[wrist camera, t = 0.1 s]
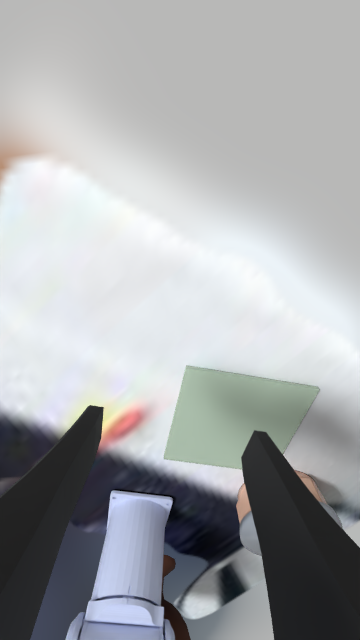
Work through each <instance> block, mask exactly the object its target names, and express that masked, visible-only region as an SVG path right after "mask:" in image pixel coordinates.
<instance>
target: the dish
mask: <svg viewBox="0 0 360 640" xmlns="http://www.w3.org/2000/svg"><path fill="white" fill-rule="evenodd" d="M294 471H295V470H294ZM295 472H296V473H297V475H298V476H299V477H300V479H301V480H302V481H303V483H304V484H305V485H306V487H307V488H308V489H309V490H310V492H311V493H312V494H313V495H314V497H315V498H316V499H317V500H318V501H320V502H322V503H325V504H327V503H326V501H325V499H324V497H323V495H322V494H321V492H320V491H319V489H318V487H317V485H316V483H315V482H314V480H313V479H312V478H311V477H310V476H308V475H306V474H304V473H302V472H299V471H295ZM236 506H237V511H238V517H239V522H241V520H242V519H243V517H244V516H245V515H246V514H248V513H249V512H250V511H251V508H250V504H249V500H248V496H247V491H246V487H245V483H244V484H243V485H242V486H241V488H240V489H239V492H238V503H237V505H236Z"/></svg>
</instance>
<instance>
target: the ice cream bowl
mask: <svg viewBox="0 0 360 640" xmlns="http://www.w3.org/2000/svg"><path fill="white" fill-rule="evenodd" d="M175 564H176V563H175V560H174V559H173V558H171V557H170V556H168V555H163V572H162V591H161V607H164V619H167V620H169V622H170V625H171V627H172V629H173V631H174V635H175V640H191V639H190V636H189V632H188V629H187V625H186V623H185V621H184V620H183V618H182V616H181V614H180V613H179V611H178V610H177V609H176V608H175V607H174V606H173V605H172V604H171V603H169V602H168V601H166V600H164V596H163V580H164V577H165V576H166V575H167V574H168V573H170V572H171V571H172V570H173V569H174V568H175Z"/></svg>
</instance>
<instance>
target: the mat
mask: <svg viewBox="0 0 360 640" xmlns="http://www.w3.org/2000/svg"><path fill="white" fill-rule="evenodd" d="M319 390H320V389H319V388H318V387H315V386H309V385H303V384H296V383H290V382H284V381H278V380H272V379H266V378H259V377H253V376H247V375H241V374H235V373H229V372H223V371H216V370H210V369H204V368H198V367H192V366H186V369H185V373H184V377H183V381H182V385H181V389H180V393H179V397H178V401H177V405H176V409H175V413H174V417H173V421H172V425H171V429H170V433H169V437H168V441H167V445H166V449H165V453H164V459H166V460H174V461H181V462H189V463H197V464H204V465H212V466H219V467H227V468H235V469H242V461H241V457H242V455H243V453H244V450H245V448H246V446H247V444H248V442H249V440H250V438H251V436H252V434H253V432H254V430H256V431H263V432H267V434H268V435H269V436H270V438H271V439H272V440H273V442H274V443H275V445H276V446H277V447H278V449H279V450H280V452H281V453H282V454H283V453H284V451H285V449H286V448H287V446H288V444H289V442H290V441H291V439H292V437H293V435H294V434H295V432H296V430H297V428H298V427H299V425H300V423H301V421H302V420H303V418H304V416H305V415H306V413H307V411H308V409H309V408H310V406H311V404H312V402H313V401H314V399H315V397H316V395H317V394H318V392H319Z"/></svg>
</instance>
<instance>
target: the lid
mask: <svg viewBox="0 0 360 640" xmlns="http://www.w3.org/2000/svg"><path fill="white" fill-rule="evenodd" d="M319 503H320V504H321V505H322V506H323V508H324V509H325V510H326V511H327V512H328V513H329V515H330V516H331V517H332V518H333V519H334V520H335V521H336V523H337V524H338V525H339V526H340V527H341V528H342V523H341V521H340V520H339V518H338V516H337V514H336V512H335V511H334V509H333V508H331V507H330V506H329V505H327V504H325V503H322V502H320V501H319ZM239 533H240V539H241V542H242V544H243V546H244V547H245V548H246V549H248V550H249V551H251V552H253V553H255V554H257V555H261V556H262V554H261V550H260V545H259V540H258V536H257V532H256V528H255V524H254V520H253V516H252V512H251V511H250V512H249V513H248V514H246V515H245V516H244V517H243V519H242V520H241V522H240V525H239Z"/></svg>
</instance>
